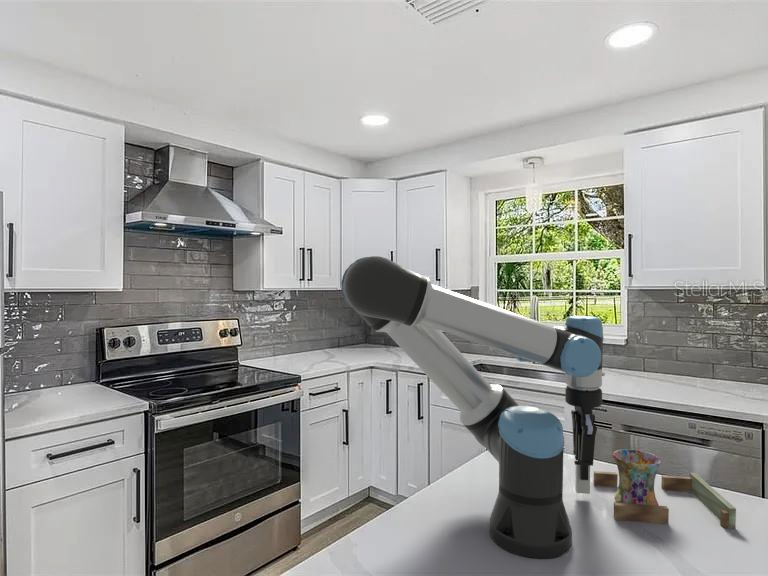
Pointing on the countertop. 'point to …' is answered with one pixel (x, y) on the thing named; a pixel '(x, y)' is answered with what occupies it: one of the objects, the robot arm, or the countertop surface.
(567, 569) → the countertop surface
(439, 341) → the robot arm
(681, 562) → the countertop surface
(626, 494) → the mug
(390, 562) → the countertop surface
